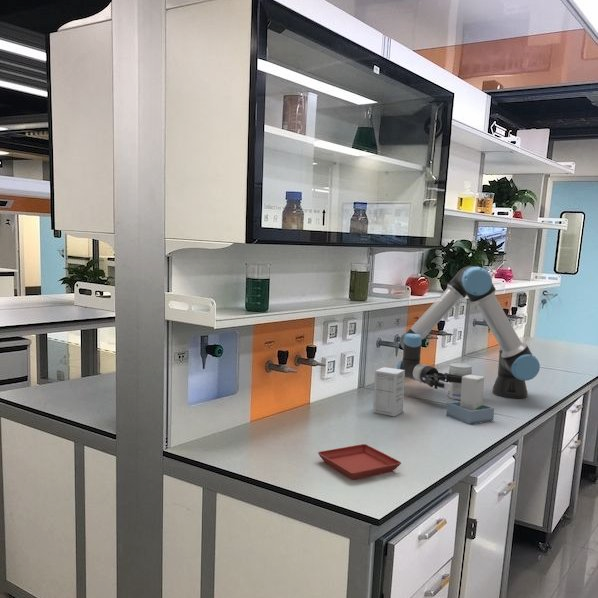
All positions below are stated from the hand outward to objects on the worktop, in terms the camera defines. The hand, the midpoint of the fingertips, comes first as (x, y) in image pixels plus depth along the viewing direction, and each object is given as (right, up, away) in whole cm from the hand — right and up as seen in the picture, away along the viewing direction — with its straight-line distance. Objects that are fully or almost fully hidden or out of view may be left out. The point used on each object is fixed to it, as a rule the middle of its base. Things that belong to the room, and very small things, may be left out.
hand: (463, 386), depth 228 cm
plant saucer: (-47, -16, -57) cm, 76 cm away
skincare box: (+2, -11, -2) cm, 12 cm away
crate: (+2, -12, -3) cm, 12 cm away
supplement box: (-30, -11, +1) cm, 32 cm away
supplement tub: (+6, -9, +28) cm, 30 cm away
